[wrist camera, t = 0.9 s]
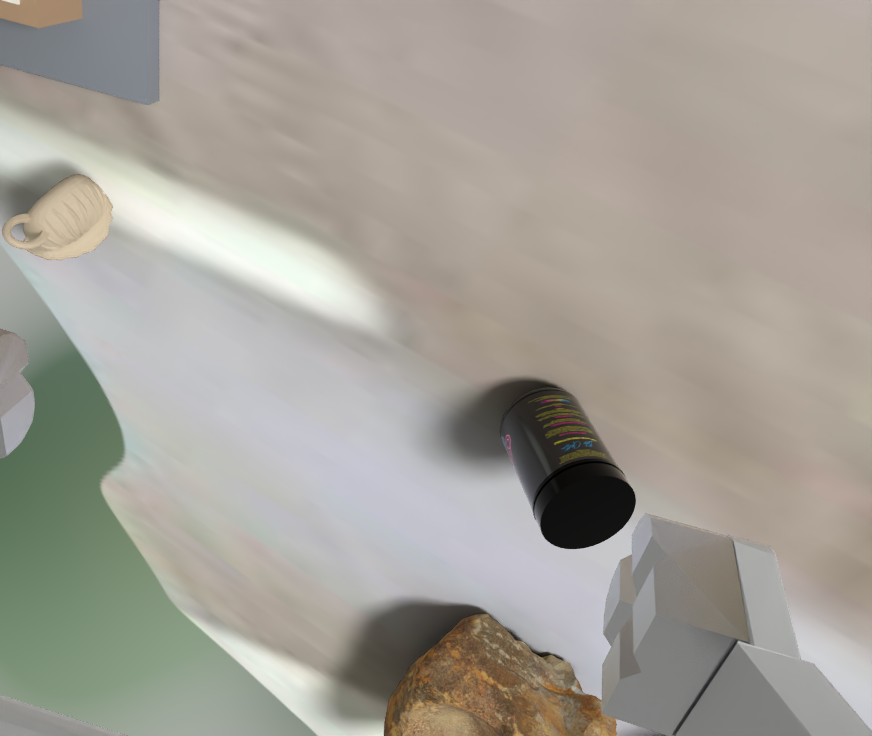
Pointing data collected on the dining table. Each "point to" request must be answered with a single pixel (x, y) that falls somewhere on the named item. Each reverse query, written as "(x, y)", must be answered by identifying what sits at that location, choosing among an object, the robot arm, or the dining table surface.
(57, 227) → the decorative ornament
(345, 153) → the dining table surface
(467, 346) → the dining table surface
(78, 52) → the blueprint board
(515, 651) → the rough brown rock
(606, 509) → the supplement container
